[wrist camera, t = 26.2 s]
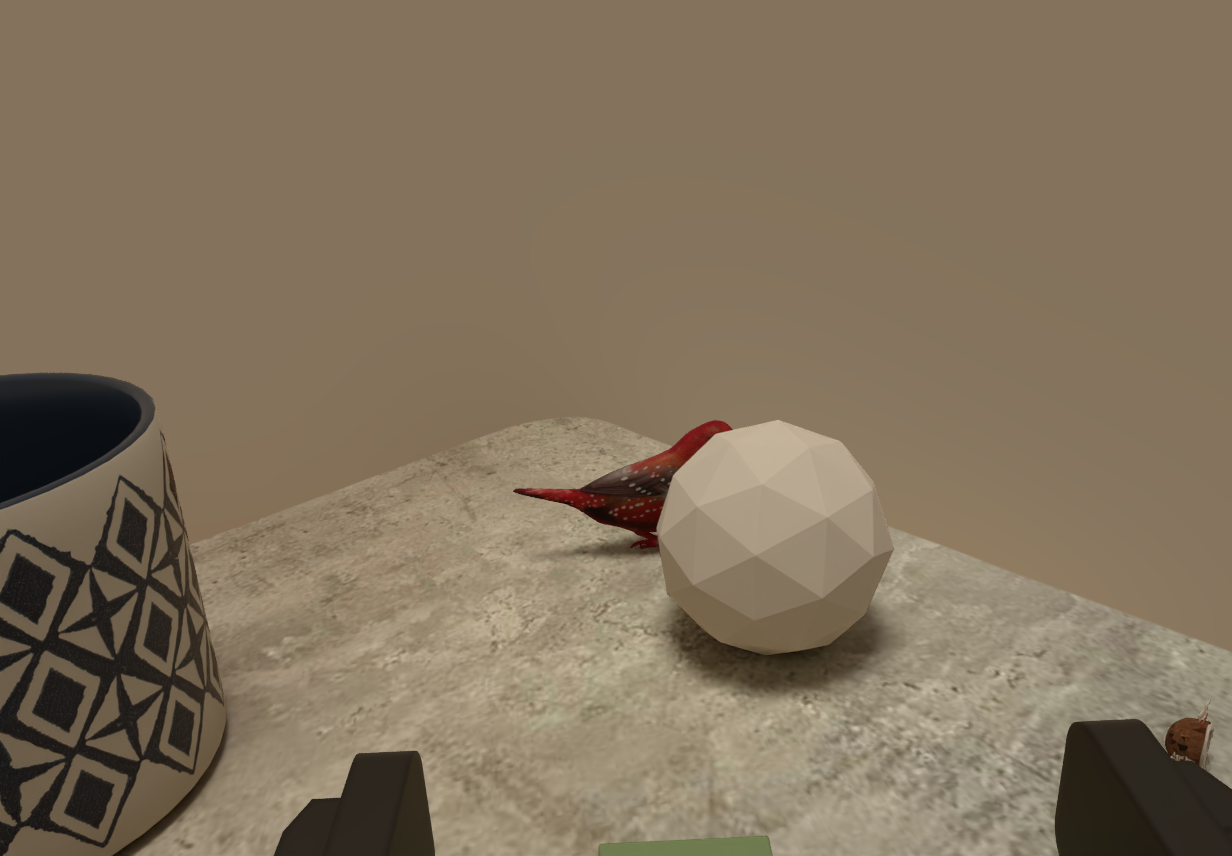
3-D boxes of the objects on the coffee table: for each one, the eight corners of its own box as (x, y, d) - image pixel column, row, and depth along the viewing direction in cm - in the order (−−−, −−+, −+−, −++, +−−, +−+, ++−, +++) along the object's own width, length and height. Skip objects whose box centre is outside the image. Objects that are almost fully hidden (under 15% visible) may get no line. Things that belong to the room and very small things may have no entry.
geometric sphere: (791, 733, 67) (775, 660, 54) (632, 586, 74) (586, 491, 62) (934, 578, 70) (950, 475, 58) (768, 452, 78) (750, 336, 65)
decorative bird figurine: (753, 546, 79) (753, 424, 76) (521, 573, 77) (509, 449, 73) (743, 528, 82) (743, 410, 78) (518, 554, 80) (507, 434, 76)
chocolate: (1171, 738, 57) (1183, 678, 56) (1216, 756, 56) (1229, 695, 54) (1152, 767, 55) (1164, 705, 54) (1198, 786, 54) (1211, 723, 52)
